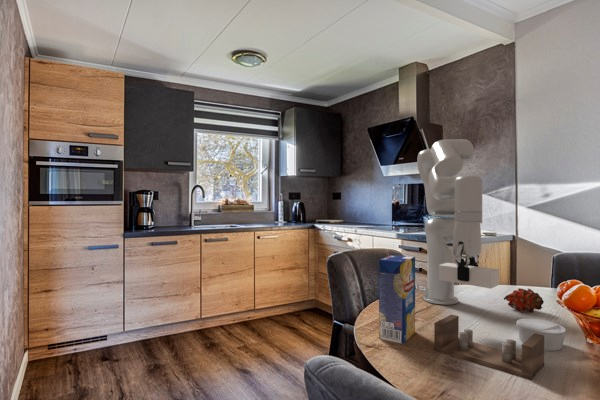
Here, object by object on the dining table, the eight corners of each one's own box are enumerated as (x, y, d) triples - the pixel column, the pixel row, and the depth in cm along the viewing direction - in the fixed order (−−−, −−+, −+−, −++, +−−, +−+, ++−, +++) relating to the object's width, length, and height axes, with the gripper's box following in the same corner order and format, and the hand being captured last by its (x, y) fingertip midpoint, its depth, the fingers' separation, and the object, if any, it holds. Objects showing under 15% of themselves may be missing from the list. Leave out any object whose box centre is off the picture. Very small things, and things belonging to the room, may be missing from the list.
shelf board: (438, 279, 113) (438, 265, 113) (447, 276, 118) (447, 262, 118) (491, 288, 103) (491, 272, 103) (498, 285, 107) (498, 269, 107)
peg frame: (434, 350, 96) (434, 322, 96) (451, 339, 103) (451, 314, 103) (532, 379, 80) (532, 347, 80) (544, 365, 87) (544, 335, 87)
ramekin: (567, 357, 92) (567, 335, 92) (515, 347, 98) (515, 327, 98) (564, 342, 102) (564, 322, 102) (517, 334, 108) (517, 316, 108)
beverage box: (415, 331, 109) (415, 256, 109) (403, 344, 100) (403, 262, 100) (392, 327, 113) (392, 254, 113) (378, 338, 104) (378, 259, 104)
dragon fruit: (547, 319, 125) (506, 318, 132) (545, 300, 131) (507, 299, 138) (542, 302, 121) (501, 301, 128) (541, 283, 127) (502, 283, 134)
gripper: (467, 216, 119) (466, 273, 119) (442, 218, 107) (442, 281, 107) (492, 217, 113) (492, 276, 113) (469, 219, 101) (469, 285, 101)
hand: (468, 278), depth 110 cm, fingers closed on shelf board, 6 cm apart
